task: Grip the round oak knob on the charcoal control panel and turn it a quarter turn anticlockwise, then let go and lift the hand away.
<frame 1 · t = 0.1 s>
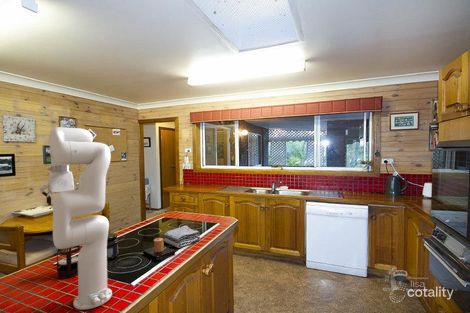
hand: (61, 203, 121), 31 cm above the worktop, tool pointing down, fingers open, 9 cm apart
oak knob: (158, 244, 131), point 6 cm above the worktop, hinge at 0.0°
towel: (182, 242, 150), on the worktop
supplement container: (107, 258, 128), on the worktop
control panel: (159, 254, 131), on the worktop
french press: (70, 274, 111), on the worktop
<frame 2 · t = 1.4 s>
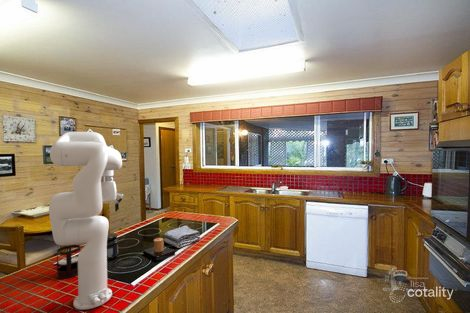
hand: (106, 211, 125), 25 cm above the worktop, tool pointing down, fingers open, 9 cm apart
nothing on the worktop moved.
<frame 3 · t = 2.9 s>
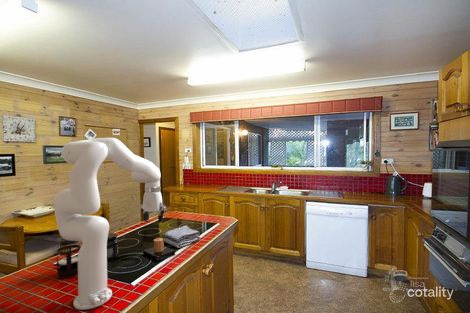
hand: (153, 221, 131), 19 cm above the worktop, tool pointing down, fingers open, 9 cm apart
nothing on the worktop moved.
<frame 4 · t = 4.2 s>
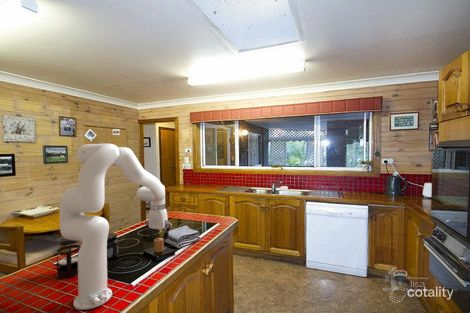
hand: (159, 238, 131), 9 cm above the worktop, tool pointing down, fingers open, 9 cm apart
nothing on the worktop moved.
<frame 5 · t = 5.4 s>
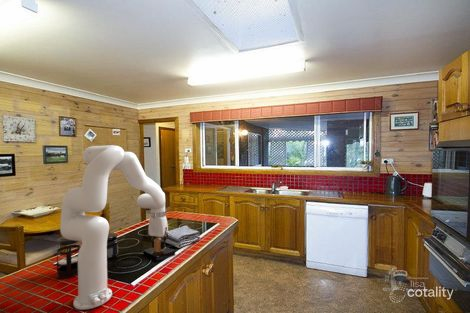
hand: (158, 247, 131), 4 cm above the worktop, tool pointing down, fingers closed on oak knob, 5 cm apart
oak knob: (158, 244, 131), point 6 cm above the worktop, hinge at 0.0°, touching gripper
everything else where it was.
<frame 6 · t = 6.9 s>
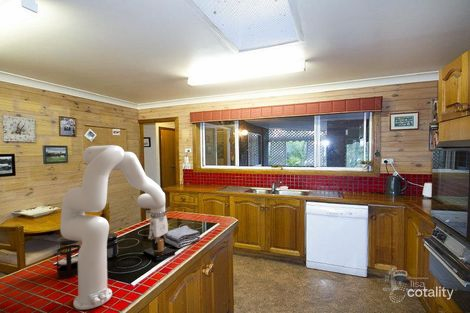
hand: (158, 247, 131), 4 cm above the worktop, tool pointing down, fingers closed on oak knob, 5 cm apart
oak knob: (158, 244, 131), point 6 cm above the worktop, hinge at 90.4°, touching gripper
everything else where it was.
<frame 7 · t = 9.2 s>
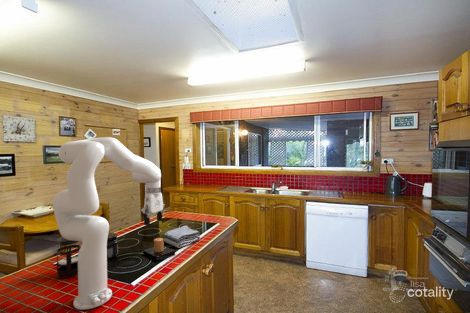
hand: (153, 222, 128), 18 cm above the worktop, tool pointing down, fingers open, 9 cm apart
oak knob: (158, 244, 131), point 6 cm above the worktop, hinge at 90.1°
everything else where it was.
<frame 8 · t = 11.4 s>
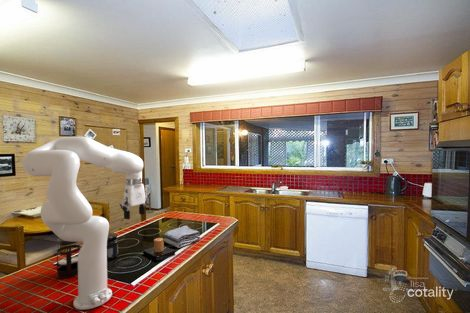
hand: (134, 216, 119), 24 cm above the worktop, tool pointing down, fingers open, 9 cm apart
nothing on the worktop moved.
at the end: oak knob at +90° (first picture: +0°); the gripper is holding nothing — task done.
